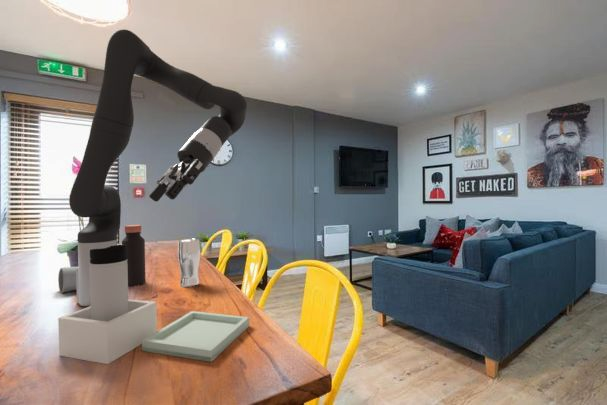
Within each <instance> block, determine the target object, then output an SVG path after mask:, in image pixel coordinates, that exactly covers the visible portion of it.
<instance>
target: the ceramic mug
mask: <svg viewBox="0 0 607 405" xmlns="http://www.w3.org/2000/svg"><path fill="white" fill-rule="evenodd" d="M77 269H78V266H67V267H60V269H59V272H58V275H57V276H58V278H57V279H58V280H57V281H58V289H59V292H60V293H62V294H63V293H67V292H72V291H77V288H76V270H77Z"/></svg>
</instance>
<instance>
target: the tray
mask: <svg viewBox="0 0 607 405" xmlns="http://www.w3.org/2000/svg"><path fill="white" fill-rule="evenodd" d="M249 327H250V317H249V316H241V315H231V314H222V313H215V312H204V311H203V312H202V311H195V310H191V311H189V312H188V313H186V314H185V315H183V316H181V317H179V318H177V319H176V320H174V321H173V322H171V323H169V324H168V325H166V326H164V327H163V328H161V329H159V330H157V332H155V333H154V334H152V335H150V336H149V337H147V338H145V339H144V340H142V344H141V350H142V352H146V353H147V352H148V353H153V354H159V355H160V354H161V355H167V356H172V357H180V358H184V359H190V360H191V359H193V360H198V361H204V362H210V363H212V362H213V361H215V359H216V358H217V357H219V356H220V354H222V353H223V352H224V350H226V348H228V347H229V346H230V345H231V344H232V343H233V342H234V341H236V339H238V338H239V337H240V336H241V335H242V334H243V333H244V332H245V331H246V330H247V329H248V328H249Z"/></svg>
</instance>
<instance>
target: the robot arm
mask: <svg viewBox="0 0 607 405" xmlns="http://www.w3.org/2000/svg"><path fill="white" fill-rule="evenodd" d="M104 61H105V62H104V67H103V77H102V82H101V85H100V90H99V95H98V99H97V102H96V103H97V104H96V108H95V110H94V115H93V117H92V121H91V126H90V130H89V135H88V139H87V144H86V147H85V150H84V153H83V158H82V162H81V163H80V167H79V170H78V173H77V175H76V177H75V180H74V182H73V185H72V188H71V191H70V194H69V199H68V201H69V202H68V203H69V207H70V211H71V212H72V213H73V214H74V215H75V216H76V217H79V218H88V223H87V224H86V226H85V227H84V228H83V229H81V230H79V231H78V233H77V254H78V255H77V260H78V262H77V267H78V269H77V270H76V288H77V290H76V304H79V306H81V307H90V306H91V299H90V259H91V258H90V250H91V249H102V248H107V247H110V246H114V245H118V234H119V232H120V229H121V217H122V216H121V215H122V214H121V213H122V212H121V211H122V208H121V207H122V203H121V202H122V201H121V197H120V194H119V192H118V190H117V189H116V188H115V187H114V186H111V185H109V184H106V181H107V178H108V177H107V176H108V174H109V171H110V169H111V168H112V166H113V164H114V163H115V162H116V160H118V159H119V157H120V155H122V154H123V152H124V151H125V150H126V148H127V147H128V145H129V142H130V138H131V135H132V130H133V126H134V119H135V118H134V117H135V114H134V108H133V99H132V84H133V80H134V76H135V75H136V76H139V77H141V78H144V79H147V80H149V81H153V82H155V83H157V84H160V85H162V86H163V87H166V88H168V89H169V90H171V91H172V92H174V93H176V94H177V95H179V96H181V97H183V98H184V99H185V100H187V101H189V102H191V103H193V104H195V105H197V106H199V107H200V108H202V109H203V110H212V109H213V108H214V106H218V107H219V108H220V112H219V114H218V116H215V115H213V116H211V117H210V118H208V119H207V120H206V121H205V122H204V123H203V125H201V127H199V129H198V130H197V131H195V132H194V133H193V134H192V135H191V137H189V139H188V140H187V141H186V142H185V143H184V145H183V146H181V148H180V149H179V150H178V151H177V158H178V160H179V163H176V164H174V165H172V166H169V168H168V169H167V170H166V171H165V173H163V175H162V176H160V178H159V179H158V180H157V181H156V184H157V186H156V187H155V188H154V189H153V191H152V192H151V193H150V194H149V198H150V199H151V200H152V201H153V202H159V201H160V199H162V197H163V196H164V195H165V196H166V197H168V198H169V199H170V200H175V199H176V198H177V197H178V195H179V194H180V193H181V192H182V191H183V189H184V188H187V187H188V186H190V185H192V184H193V183H195V180H197V178H198V177H199V175H200V174H201V173H204V172H205V171H206V169H207V168H208V166H209V165H210V164H211V163H212V161H213V160H214V159H215V158H216V157H217V155H218V154H219V152H220V150H221V148H222V146H224V144H225V143H226V141H227V140H228V139H229V137H231V136H233V135H234V134H236V133H237V132H238V131H239V130H240V129H241V128H242V127H243V125H244V123H245V120H246V113H247V108H248V104H247V100H246V99H245V97H244V96H243V95H242V94H241V93H240V92H238V91H236V90H232V89H228V88H225V87H221V86H217V85H214V84H212V83H210V82H208V81H206V80H204V79H203V78H202V77H199V76H197V75H195V74H193V73H191V72H189V71H186V70H183V69H180V68H177V67H175V66H173V65H171V64H169V62H166V61H165V60H164V59H162V58H161V57H160V56H158V55H157V54H156V53H154V51H153V50H151V48H150V47H149V45H147V44H146V43H145V42H144V41H143V40H142V39H141V38H140V37H139V36H138V35H137V34H135V33H134V32H133V31H131V30H128V29H125V28H124V29H119V30H117V31H115V32H114V33H113V34H112V35H111V36H110V38H109V40H108V42H107V47H106V51H105V60H104ZM165 182H166V183H165Z"/></svg>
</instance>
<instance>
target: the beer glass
mask: <svg viewBox="0 0 607 405" xmlns="http://www.w3.org/2000/svg"><path fill="white" fill-rule="evenodd" d="M177 242H178V243H177V245H178V246H177V257H178V258H177V260H178V263H179V271H180V281H179V286H180V287H181V288H193V287H195V285H197V286H199V285H200V279H199V267H200V266H199V265H200V260H201V259H200V258H201V245H200V239H199V238H185V239H179V240H178V241H177ZM192 286H193V287H192Z"/></svg>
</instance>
